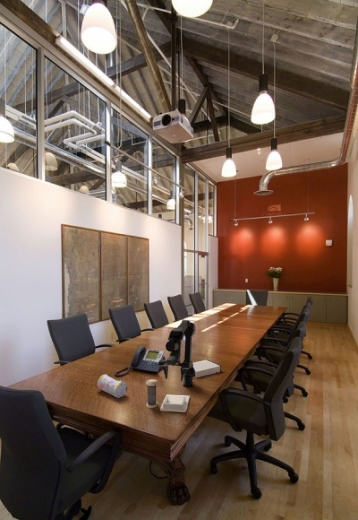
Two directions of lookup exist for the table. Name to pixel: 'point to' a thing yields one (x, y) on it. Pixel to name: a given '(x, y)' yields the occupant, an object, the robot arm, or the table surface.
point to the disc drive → (205, 368)
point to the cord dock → (175, 403)
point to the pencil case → (112, 386)
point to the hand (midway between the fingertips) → (173, 380)
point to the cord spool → (151, 393)
